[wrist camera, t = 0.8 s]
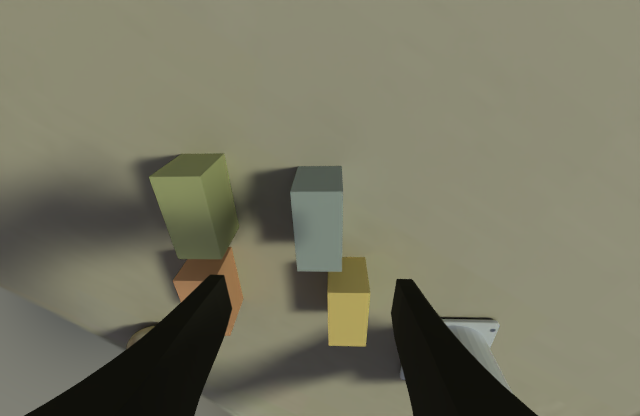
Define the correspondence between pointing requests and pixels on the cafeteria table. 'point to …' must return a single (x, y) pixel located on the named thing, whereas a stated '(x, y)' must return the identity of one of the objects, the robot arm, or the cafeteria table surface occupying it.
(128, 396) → the robot arm
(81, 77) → the cafeteria table surface
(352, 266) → the mustard brick
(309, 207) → the slate brick
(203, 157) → the olive brick
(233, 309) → the terracotta brick
